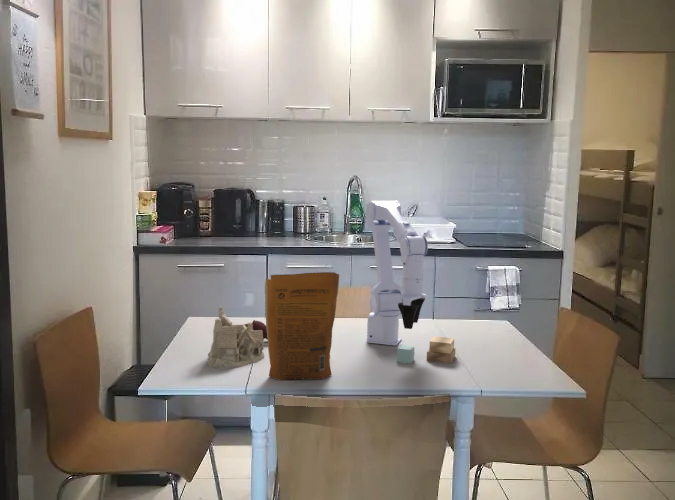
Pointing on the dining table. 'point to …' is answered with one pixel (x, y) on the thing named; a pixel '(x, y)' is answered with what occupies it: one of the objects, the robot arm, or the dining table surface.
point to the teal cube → (405, 354)
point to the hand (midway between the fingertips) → (410, 325)
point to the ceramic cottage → (234, 344)
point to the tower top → (441, 345)
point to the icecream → (259, 327)
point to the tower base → (441, 356)
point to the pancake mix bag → (300, 324)
